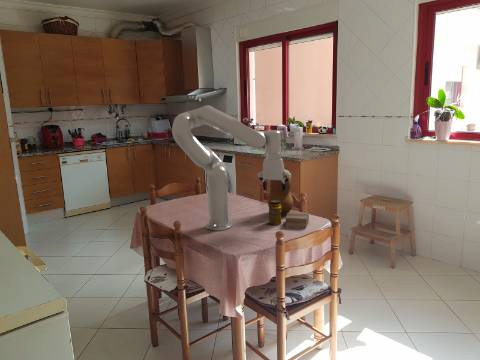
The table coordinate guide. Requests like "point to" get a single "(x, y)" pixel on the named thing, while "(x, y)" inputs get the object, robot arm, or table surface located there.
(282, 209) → the butternut squash
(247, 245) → the table surface
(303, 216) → the beige square block
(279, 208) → the condiment
